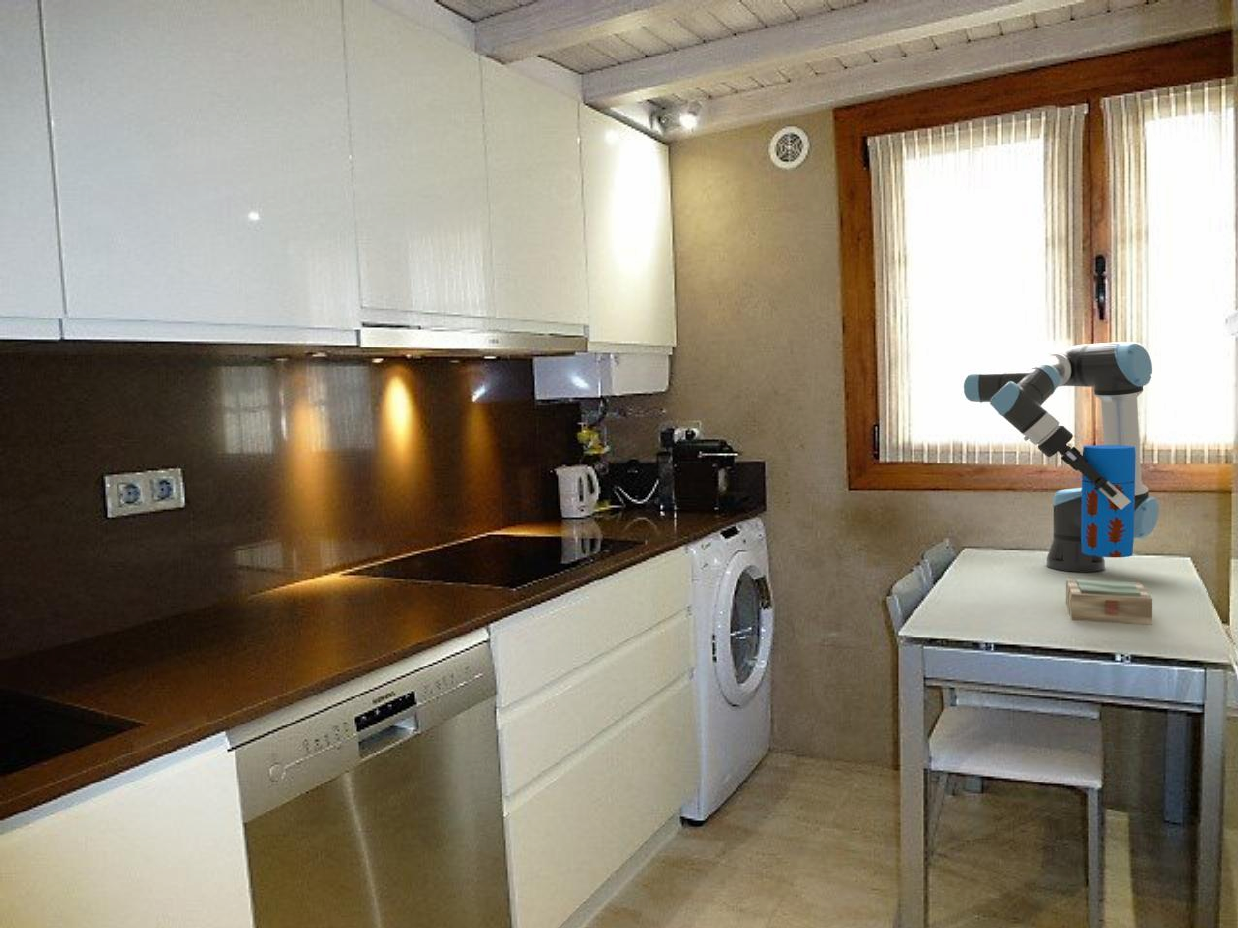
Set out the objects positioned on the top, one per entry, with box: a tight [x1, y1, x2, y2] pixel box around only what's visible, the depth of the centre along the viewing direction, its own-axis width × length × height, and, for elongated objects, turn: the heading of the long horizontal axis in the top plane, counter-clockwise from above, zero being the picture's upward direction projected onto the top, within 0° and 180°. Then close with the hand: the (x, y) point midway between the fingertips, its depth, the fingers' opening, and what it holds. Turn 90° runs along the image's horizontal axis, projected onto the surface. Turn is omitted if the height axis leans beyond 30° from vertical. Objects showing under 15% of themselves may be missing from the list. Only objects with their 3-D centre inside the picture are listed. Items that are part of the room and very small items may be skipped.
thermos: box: [1081, 444, 1136, 558], centre depth 206 cm, size 11×11×25 cm
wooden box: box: [1065, 578, 1153, 626], centre depth 208 cm, size 17×16×7 cm
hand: (1122, 501), depth 205 cm, fingers closed on thermos, 11 cm apart
